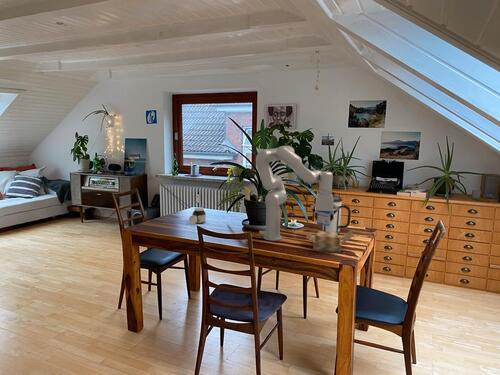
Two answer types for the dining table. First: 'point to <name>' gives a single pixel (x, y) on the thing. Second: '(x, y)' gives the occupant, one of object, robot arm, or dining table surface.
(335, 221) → the coffee press
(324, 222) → the medicine box
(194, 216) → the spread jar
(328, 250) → the carton
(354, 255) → the dining table surface
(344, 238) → the flap
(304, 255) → the dining table surface
